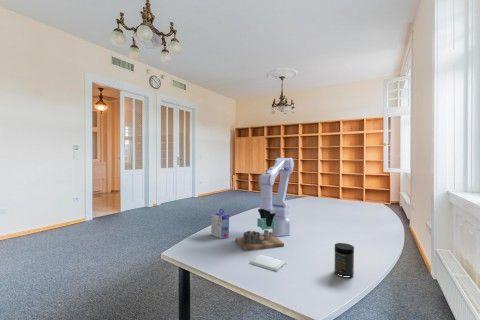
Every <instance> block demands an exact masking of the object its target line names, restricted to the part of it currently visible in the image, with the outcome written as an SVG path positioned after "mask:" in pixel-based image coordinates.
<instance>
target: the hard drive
mask: <svg viewBox="0 0 480 320" xmlns="http://www.w3.org/2000/svg"><path fill="white" fill-rule="evenodd" d="M249 264H251V265H254V266H257V267H261V268H264V269H267V270H271V271H273V270H274V271H273V272H277V271H278V272H279V271H280V270H282V269H283V268H284V267H285V266H286V265H287V261H283V260H282V259H281V260H280V259H276V258H273V257H270V256H267V255H262V254H259V255H257V256H255V257H254V258H253V259H251V260H250V262H249ZM284 265H285V266H284ZM283 266H284V267H283ZM282 267H283V268H282Z"/></svg>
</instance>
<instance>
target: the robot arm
mask: <svg viewBox="0 0 480 320" xmlns="http://www.w3.org/2000/svg"><path fill="white" fill-rule="evenodd" d="M274 161H275V162H274V165H273V166H270V167H269V168H268V169H267V171H266V172H265V173H262V174H260V175H259V178H258V184H259V189H260V203H258V209H257V211H258V214H259V216H260V217H259V218H260V219H261V218H266V225H267V227H269V226H271V225H272V221H273V220H275V229H271V231H269V234H272V235H273V236H274V237H276V238H278V237H282V236H283V237H284V236H290V235H291V228H290V227H291V224H290V223H291V222H290V219H289V218H288V217H289V208H290V207H289V205H288V204H287V202H285V201H286V197H287V196H286V195H287V191H288V186H289V181H290V176H291V174H293V171H294V166H295V161H294V159H293V157H276V158H275V160H274ZM279 174H280V179H279V183H278V189H277V192H276V199H275V200H274V201H273V186H274V183H275V180H276V178H277V177H278V176H279Z"/></svg>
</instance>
